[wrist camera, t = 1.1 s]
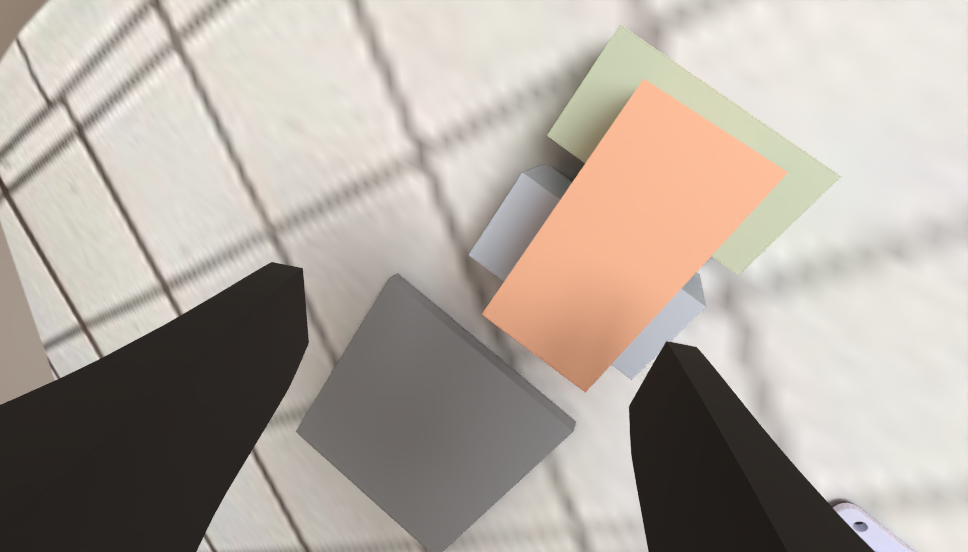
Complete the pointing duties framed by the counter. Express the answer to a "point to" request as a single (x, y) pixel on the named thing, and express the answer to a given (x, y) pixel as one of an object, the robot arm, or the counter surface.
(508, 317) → the terracotta brick
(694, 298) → the blue brick
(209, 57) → the counter surface
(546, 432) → the slate mat
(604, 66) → the sage brick
